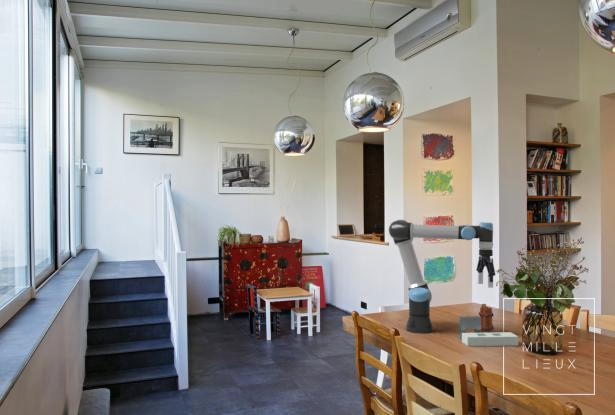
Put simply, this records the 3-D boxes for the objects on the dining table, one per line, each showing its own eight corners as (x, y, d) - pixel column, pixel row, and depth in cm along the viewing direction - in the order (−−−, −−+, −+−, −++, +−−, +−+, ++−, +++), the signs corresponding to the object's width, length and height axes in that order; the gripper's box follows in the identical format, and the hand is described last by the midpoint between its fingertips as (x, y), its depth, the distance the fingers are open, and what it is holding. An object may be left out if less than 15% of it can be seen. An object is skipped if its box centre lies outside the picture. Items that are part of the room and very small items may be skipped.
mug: (495, 335, 273) (495, 308, 273) (479, 334, 275) (479, 307, 275) (490, 329, 288) (490, 303, 288) (476, 328, 289) (475, 302, 289)
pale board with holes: (467, 346, 252) (467, 337, 252) (461, 341, 261) (461, 332, 261) (518, 345, 253) (518, 336, 253) (510, 340, 262) (510, 332, 262)
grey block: (461, 339, 264) (461, 317, 264) (459, 338, 267) (459, 316, 268) (481, 339, 265) (480, 317, 265) (478, 338, 268) (478, 315, 268)
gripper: (502, 251, 276) (501, 289, 276) (483, 247, 301) (482, 282, 301) (488, 250, 276) (488, 289, 276) (471, 247, 301) (470, 282, 301)
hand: (485, 285), depth 289 cm, fingers open, 13 cm apart
